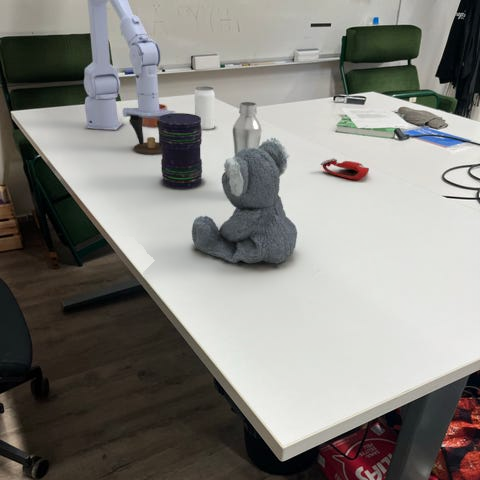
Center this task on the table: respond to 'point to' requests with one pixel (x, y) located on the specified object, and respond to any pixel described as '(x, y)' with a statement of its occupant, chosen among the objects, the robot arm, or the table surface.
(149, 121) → the cup
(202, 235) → the koala plush
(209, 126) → the can
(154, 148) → the wooden lid with knob
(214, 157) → the table surface
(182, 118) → the storage jar
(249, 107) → the silver metal bottle
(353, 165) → the tracker holder
